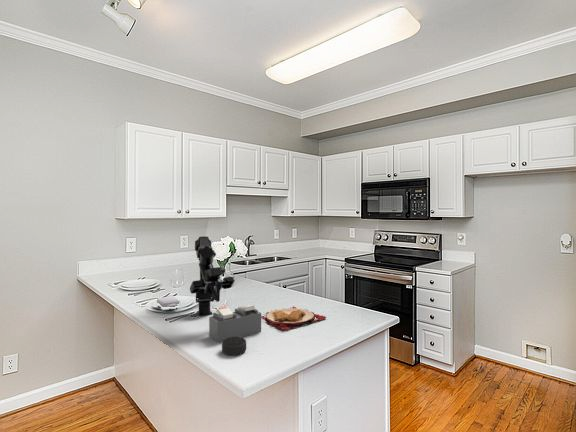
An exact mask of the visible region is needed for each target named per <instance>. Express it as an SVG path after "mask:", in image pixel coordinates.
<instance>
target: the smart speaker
mask: <svg viewBox="0 0 576 432" xmlns="http://www.w3.org/2000/svg"><path fill="white" fill-rule="evenodd" d="M221 351H222V353H224V354H225V355H228V356H239V355H242V354H244V353H245V352H246V351H247V340H246V339H245V338H243V337H230V338H227V339H225V340H224V341H221Z"/></svg>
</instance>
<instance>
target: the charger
mask: <svg viewBox="0 0 576 432" xmlns="http://www.w3.org/2000/svg"><path fill="white" fill-rule="evenodd" d="M157 303H159V304H160V305H161V306H162V307H175V306H178V305H177V304H179V303H180V304H181V301H180V300H179V299H178V298H176V297H175V296H166V297H159V298H158V299H157V300H156V304H157Z"/></svg>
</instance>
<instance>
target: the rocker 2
mask: <svg viewBox="0 0 576 432" xmlns="http://www.w3.org/2000/svg"><path fill="white" fill-rule="evenodd" d="M237 309H239V310H241V311H249V310H254V309H256V307H255V305H242V306H238V307H237Z"/></svg>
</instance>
